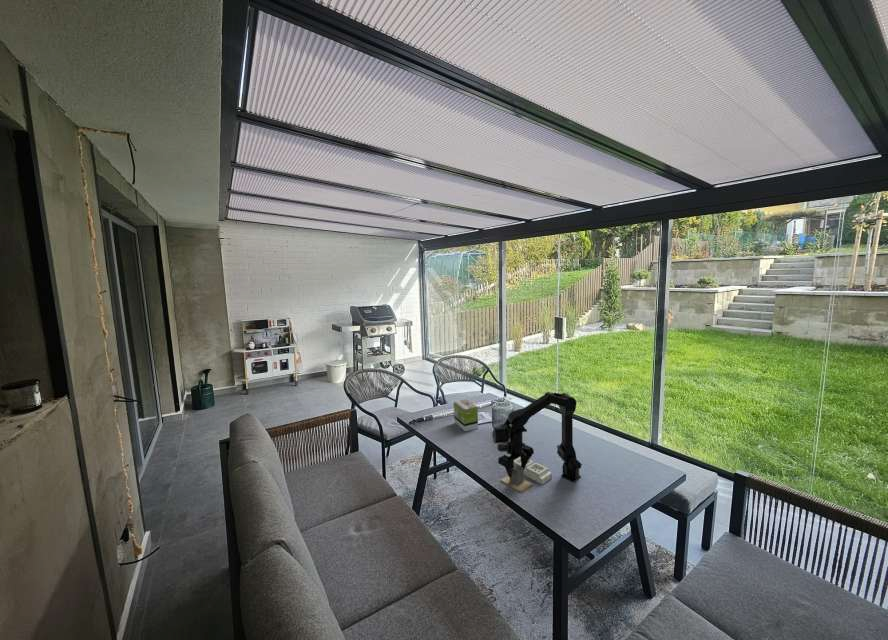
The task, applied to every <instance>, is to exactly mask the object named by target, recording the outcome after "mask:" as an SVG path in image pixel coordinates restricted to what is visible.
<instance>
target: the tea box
mask: <svg viewBox="0 0 888 640" xmlns="http://www.w3.org/2000/svg"><path fill="white" fill-rule="evenodd" d="M478 408H479V407H478V406H477V405H476V404H474V403H473V402H471V401H469V400H468V399H462V400H458V401H454V402H453V416H454V417H453V418H454V422H453V423H454V424H455V425H456V426H458V427H459V428H460V429H461V430H463V431H464V432H469V431H473V430H477V429H479V416H478V415H479V413H478V410H479V409H478Z"/></svg>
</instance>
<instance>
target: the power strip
mask: <svg viewBox="0 0 888 640" xmlns="http://www.w3.org/2000/svg"><path fill="white" fill-rule="evenodd" d="M514 464H517V465H519V466H521V457H519V458H517V459H515V460H514ZM514 464H513V465H514ZM523 476H525V477H527V478H529V479H531V480H533V481H534V482H537V483H539V484H541V485H544V484H546V482H548V481H549V480H551V479H552V478H553V473H552V472H551V471H549V468H548V467H547V466H544V465H542V464H540V463H537V462H535V461H533V460H531V459H529V461H528V463H527V465H526V467H525V469H524V470H523Z"/></svg>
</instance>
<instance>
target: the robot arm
mask: <svg viewBox="0 0 888 640" xmlns="http://www.w3.org/2000/svg"><path fill="white" fill-rule="evenodd" d="M551 404H552V405H557V406H558V407H559V410H560V413H561V443H560V444H557V445H556V449H557V451H556V453H557V455H558V456H559V458H560V459H561V460H562V461H563V464H562V474H561V477H562V478H564V479H566V480H568V481H571V482H574V483H575V482H576V481H577V480H579V479H580V478H582V476H581V474H580V469H581V468H582V465H583V464H582V463H581V462H580V461H579V460H578V459H577V455H576V454H577V453H576V450H575V447H574V444H573V439H574V437H573V431H574V430H573V428H574V427H573V423H574V421H573V417H574V416H573V415H574V413H575V412H576V409H577V404H578V403H577V399H575V397H573V396H572V395H570V394H568V393H567V392H562V393H558V392H550V391H548V392H544V394H543V395H542V396H540V397H538V398H537V399H535V400H534V401H533V402H531V403H530V404H528V405H526V406H525V407H524V408H520V409H516V410H514V411H511V412H509V414H508V415H507V418H506V420H505V422H504V423H503V427H502V426H501V427H500V426H499V427H498V426H495V427H494V428H493V430H492V433H491V434H492V440H493V443H494V444H497V450H498V451H499V452H501V453H503V452H505V453H506V454H508V455H506V454H503V455H501V456H499V457H498V458H497V463H498V464H499V465H501V466H503V467H504V469H505V470H506V473H507V476H509V477H510V478H511V476H512V473H513V469H514V465H513V464H514V460H515V459H517V458H520V457H521V467H523V470H524V469H525V467H526V465H527V463H528V461H529V460H531V458H532V457H533V455H534V454H535V453H534V448H533V447H532V446H529V445H527V444H526V443H525V442H523V440H524V439H523V433H526V432H528V430H527V428H526V427H525V425H526V424H527V423H528V421H529V420H530V418H532V417H534V416H535V415H536V414H537V413H540V412H541V411H542V410H544V409H545V408H547V407H549V406H550V405H551Z"/></svg>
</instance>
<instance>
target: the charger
mask: <svg viewBox="0 0 888 640" xmlns="http://www.w3.org/2000/svg"><path fill="white" fill-rule="evenodd" d="M523 479H524V475H523V467H521V466H519V465H517V464H514V469H513V473H512V476H511V478H510V482H511V483H513V484H515V485H517V486H518V485H519V484H521V483H522V482H523Z"/></svg>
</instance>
